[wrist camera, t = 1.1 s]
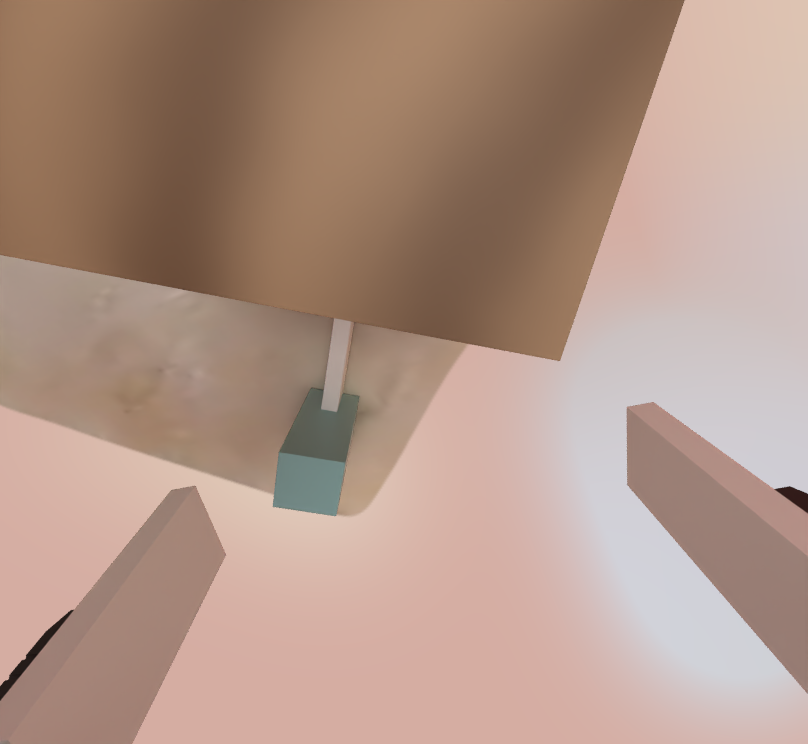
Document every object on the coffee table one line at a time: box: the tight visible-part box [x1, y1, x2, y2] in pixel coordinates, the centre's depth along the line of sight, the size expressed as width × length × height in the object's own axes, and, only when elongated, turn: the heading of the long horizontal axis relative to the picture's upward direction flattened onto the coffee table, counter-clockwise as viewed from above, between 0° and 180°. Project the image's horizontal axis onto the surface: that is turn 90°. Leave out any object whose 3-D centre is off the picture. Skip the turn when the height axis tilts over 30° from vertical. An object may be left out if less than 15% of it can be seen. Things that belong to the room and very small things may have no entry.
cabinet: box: [0, 0, 684, 361], centre depth 17 cm, size 17×17×22 cm
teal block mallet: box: [273, 318, 360, 516], centre depth 28 cm, size 4×16×10 cm, turn 169°
